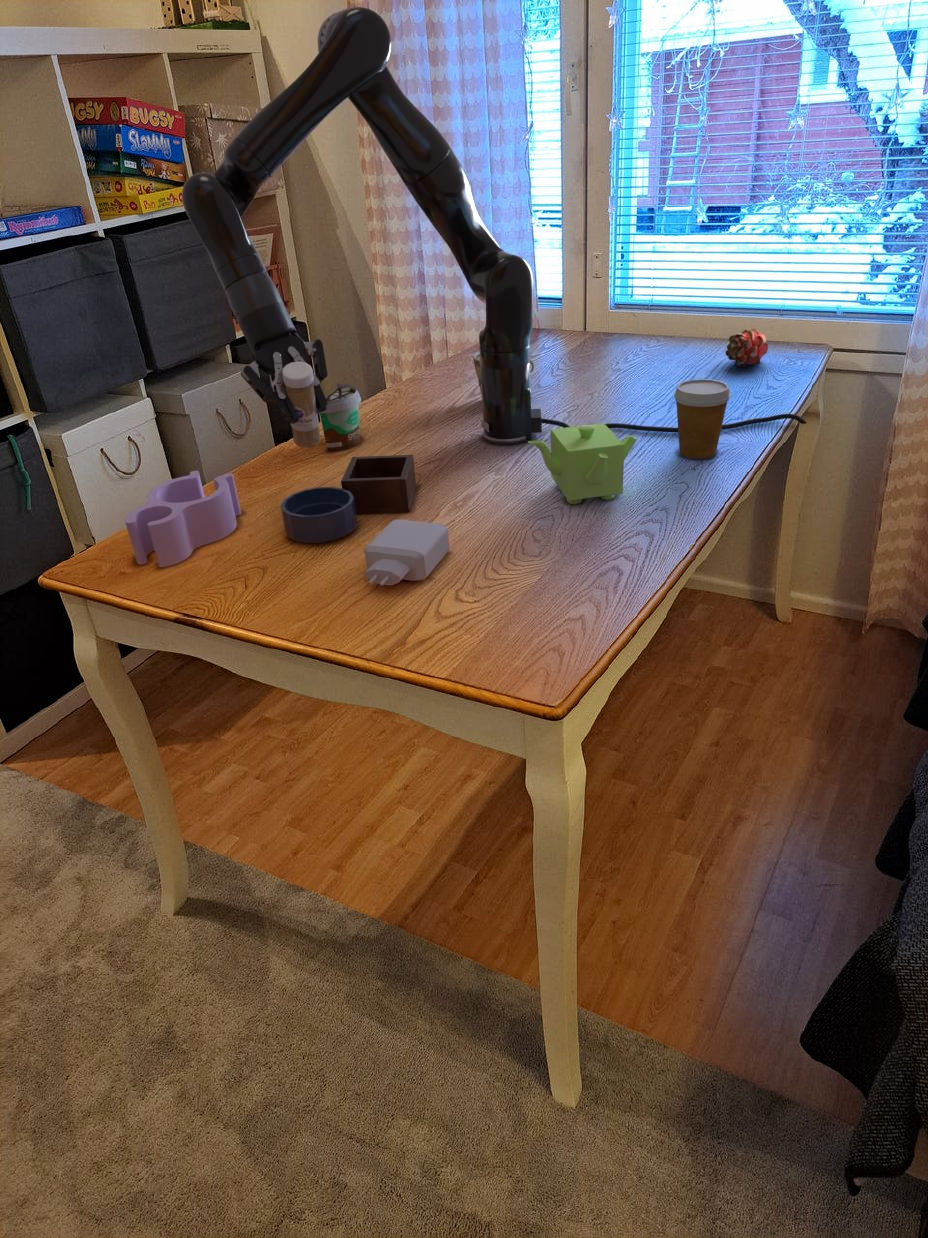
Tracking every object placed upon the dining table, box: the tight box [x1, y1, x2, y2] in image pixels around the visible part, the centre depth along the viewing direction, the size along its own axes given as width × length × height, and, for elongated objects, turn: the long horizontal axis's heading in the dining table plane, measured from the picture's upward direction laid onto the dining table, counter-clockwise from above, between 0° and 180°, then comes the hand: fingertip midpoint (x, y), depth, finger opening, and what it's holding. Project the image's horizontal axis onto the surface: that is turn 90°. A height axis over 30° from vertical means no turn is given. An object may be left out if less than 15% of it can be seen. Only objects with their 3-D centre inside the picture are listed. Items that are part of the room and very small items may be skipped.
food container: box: [317, 383, 362, 452], centre depth 170 cm, size 12×6×10 cm, turn 168°
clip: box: [124, 470, 242, 568], centre depth 139 cm, size 20×12×7 cm, turn 161°
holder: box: [340, 454, 417, 515], centre depth 146 cm, size 10×10×6 cm
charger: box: [363, 518, 450, 587], centre depth 124 cm, size 5×9×15 cm
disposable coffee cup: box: [673, 378, 732, 460], centre depth 153 cm, size 10×10×12 cm
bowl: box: [280, 486, 358, 544], centre depth 138 cm, size 11×11×5 cm
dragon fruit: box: [725, 328, 769, 368], centre depth 198 cm, size 8×8×12 cm
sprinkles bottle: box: [282, 362, 322, 449], centre depth 137 cm, size 5×5×14 cm
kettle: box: [527, 422, 638, 505], centre depth 142 cm, size 15×14×11 cm
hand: (309, 416), depth 137 cm, fingers closed on sprinkles bottle, 4 cm apart
